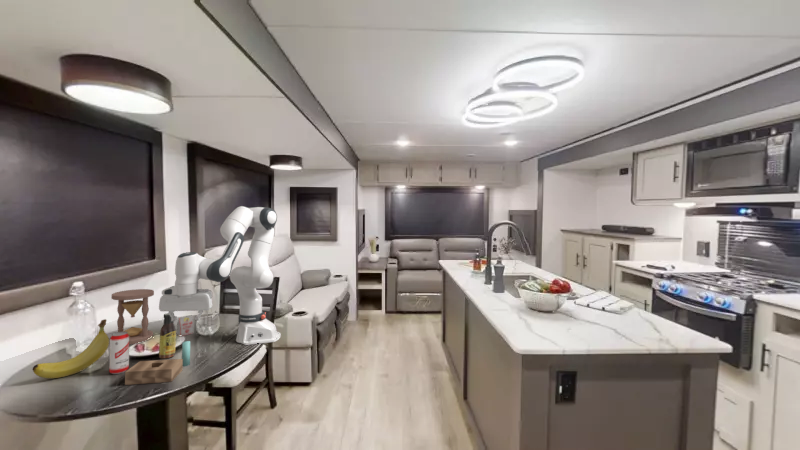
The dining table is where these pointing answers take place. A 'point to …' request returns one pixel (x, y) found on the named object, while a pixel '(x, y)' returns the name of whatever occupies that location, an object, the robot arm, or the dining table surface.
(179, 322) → the white red printed box
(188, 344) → the peg
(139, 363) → the socket block
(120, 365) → the beer can
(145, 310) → the hourglass
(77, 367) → the banana
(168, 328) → the sauce bottle
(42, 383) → the dining table surface
